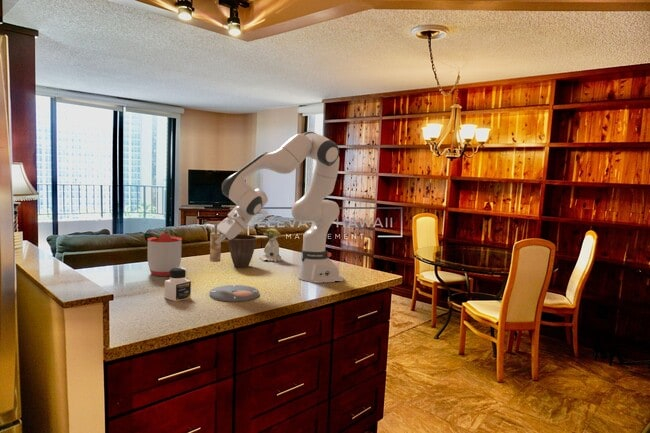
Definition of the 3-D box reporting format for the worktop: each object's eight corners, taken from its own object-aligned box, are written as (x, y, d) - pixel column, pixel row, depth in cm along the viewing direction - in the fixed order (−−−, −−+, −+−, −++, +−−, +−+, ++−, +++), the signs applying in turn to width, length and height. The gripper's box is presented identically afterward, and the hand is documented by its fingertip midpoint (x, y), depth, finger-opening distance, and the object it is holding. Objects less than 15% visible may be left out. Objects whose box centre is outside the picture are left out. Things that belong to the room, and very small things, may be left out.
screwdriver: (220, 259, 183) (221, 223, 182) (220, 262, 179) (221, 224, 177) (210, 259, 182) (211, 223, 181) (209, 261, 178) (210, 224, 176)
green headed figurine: (276, 256, 254) (278, 226, 252) (284, 261, 243) (286, 230, 241) (257, 257, 249) (258, 227, 247) (264, 262, 237) (266, 230, 235)
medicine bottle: (176, 302, 160) (176, 271, 159) (164, 298, 164) (164, 268, 163) (190, 297, 166) (191, 268, 165) (179, 294, 170) (179, 265, 169)
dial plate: (257, 287, 186) (257, 284, 186) (260, 301, 167) (260, 298, 166) (210, 287, 182) (210, 284, 181) (208, 302, 162) (208, 298, 162)
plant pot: (261, 266, 227) (262, 237, 225) (241, 271, 214) (243, 240, 212) (241, 262, 235) (242, 233, 233) (221, 266, 222) (222, 236, 220)
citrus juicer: (176, 268, 213) (176, 229, 211) (185, 276, 199) (186, 234, 197) (143, 270, 205) (143, 230, 202) (150, 279, 190) (150, 235, 188)
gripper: (226, 211, 191) (204, 233, 187) (238, 216, 173) (214, 240, 169) (236, 221, 193) (214, 242, 190) (248, 227, 175) (225, 251, 172)
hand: (214, 241), depth 180 cm, fingers closed on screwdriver, 4 cm apart
